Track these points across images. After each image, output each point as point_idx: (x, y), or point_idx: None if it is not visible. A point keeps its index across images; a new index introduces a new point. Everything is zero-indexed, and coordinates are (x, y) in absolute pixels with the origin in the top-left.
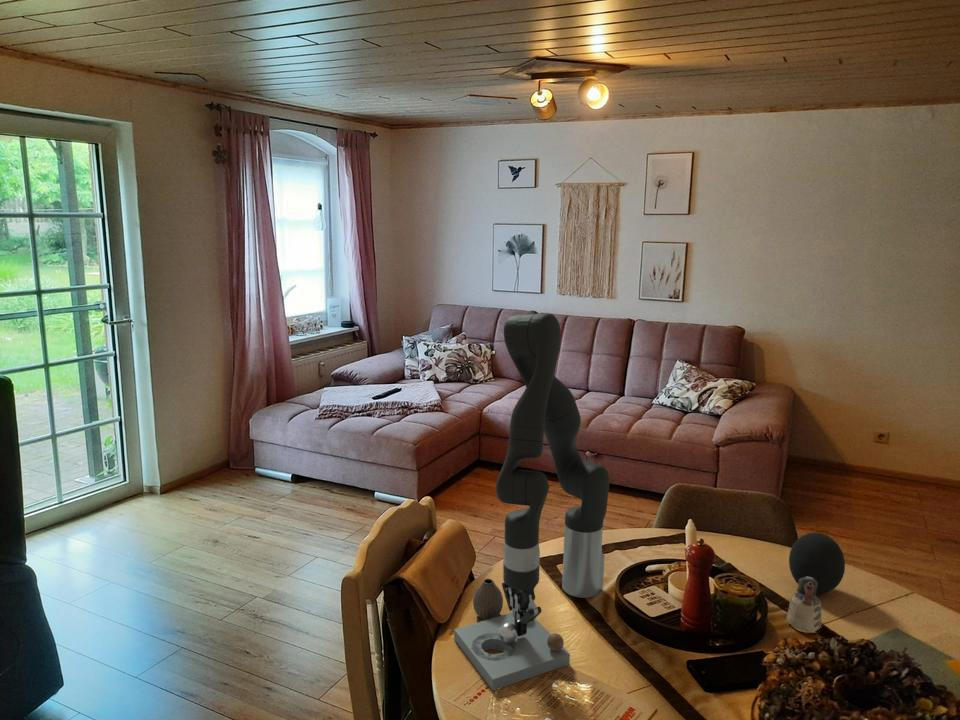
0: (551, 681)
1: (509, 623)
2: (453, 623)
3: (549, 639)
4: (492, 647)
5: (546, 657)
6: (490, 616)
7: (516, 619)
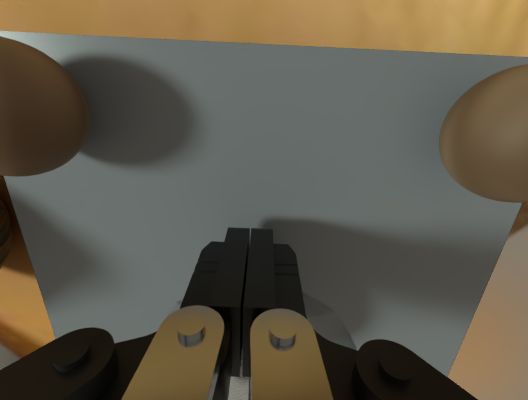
0: (521, 219)
1: (233, 392)
2: (8, 341)
3: (518, 199)
4: None
5: (485, 217)
6: (4, 252)
7: (238, 375)
